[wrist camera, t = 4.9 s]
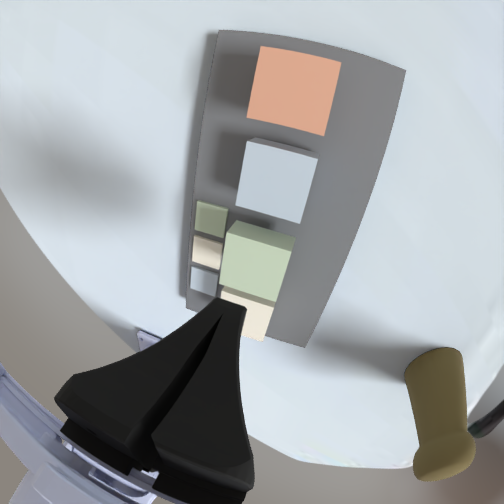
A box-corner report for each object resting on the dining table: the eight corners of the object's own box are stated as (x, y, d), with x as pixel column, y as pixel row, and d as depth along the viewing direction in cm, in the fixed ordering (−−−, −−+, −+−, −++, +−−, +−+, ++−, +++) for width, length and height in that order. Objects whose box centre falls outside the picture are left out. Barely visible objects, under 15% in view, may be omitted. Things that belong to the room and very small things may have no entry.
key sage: (281, 285, 17) (275, 302, 16) (228, 268, 17) (219, 283, 16) (295, 237, 15) (291, 252, 14) (236, 220, 16) (226, 232, 14)
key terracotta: (324, 133, 12) (323, 136, 11) (255, 116, 12) (246, 117, 11) (340, 67, 10) (341, 62, 9) (268, 52, 11) (260, 46, 9)
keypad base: (306, 338, 22) (304, 349, 21) (190, 300, 23) (184, 309, 22) (401, 72, 11) (407, 69, 10) (225, 33, 12) (217, 29, 11)
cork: (391, 380, 22) (390, 488, 13) (431, 340, 18) (449, 463, 9) (434, 391, 21) (441, 486, 12) (473, 355, 18) (495, 459, 9)
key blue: (303, 212, 15) (300, 223, 14) (244, 195, 16) (235, 205, 14) (319, 153, 13) (317, 159, 12) (255, 137, 14) (246, 141, 12)
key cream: (267, 326, 20) (262, 341, 19) (224, 311, 21) (216, 326, 19) (278, 292, 18) (274, 307, 17) (230, 276, 19) (221, 290, 17)
